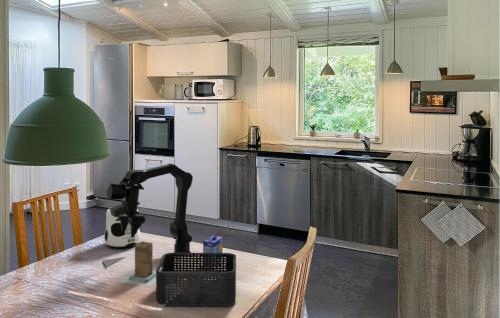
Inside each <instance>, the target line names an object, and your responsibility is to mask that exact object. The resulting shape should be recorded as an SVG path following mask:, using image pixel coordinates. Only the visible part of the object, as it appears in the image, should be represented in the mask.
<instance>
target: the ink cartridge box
mask: <svg viewBox="0 0 500 318" xmlns="http://www.w3.org/2000/svg"><path fill="white" fill-rule="evenodd" d="M202 242H203V243H202V253H223V248H224V247H223V244H224V237H223V236H219V233H216V234H214V235H211V236H210V237H209V238H207V239H205V240H203V241H202ZM204 258H206V257H204ZM208 258H209V257H208ZM211 258H213V257H211ZM214 258H216V257H214ZM218 258H219V257H218ZM221 258H223V257H221ZM204 263H206V262H204ZM208 263H209V262H208ZM211 263H213V262H211ZM214 263H216V262H214ZM218 263H219V262H218ZM215 265H216V264H215ZM211 268H213V267H211Z"/></svg>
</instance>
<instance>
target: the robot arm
mask: <svg viewBox="0 0 500 318" xmlns="http://www.w3.org/2000/svg"><path fill="white" fill-rule="evenodd" d="M168 174H170V175H171V176H173V177H174V180H175V187H176V189H177V194H176V205H175V208H176V209H175V218H174V220H173V222H170V223H169V225H170V227H169V232H170V235H171V236H172V238H173V239H174V241H175V243H174V244H173V245H174V249H173V250H174V251H173V253H192V252H191V250H190V249H191V248H190V247H191V245H190V244H191V242H192V240H193V236H191V235H190V233H189V232H188V224H187V222H186V216H187V207H188V205H187V203H188V195H189V190H190V188H191V187H192V184H193V179H194V177H193V175H192V173H191V172H187V171H185V170H183V169H182V168H180V167H178V166H177V165H176V164H175V163H167V164H164V165H159V166H155V167H151V168H146V169H129V170H128V171H126V173H125V176H124V177H123V178H122V179H121V180H120V182H119V183H113V182H111V183H109V186H108V188H107V189H106V198H107V199H108V200H122V202H121V204H118V205H115V206H113V207H110V208H109V209H110V211H111V215H112V216H114V217H118V218H119V219H120V223H121V228H122V232H125V230H126V228H127V225H128V223H129V224H130V225H131V237H134V236H135V234H136V232H137V231H138V229H139V230H140V227H141V226H142V225H143V224H144V223H146V219H147V218H146V216H144V215H143V214H140V212H139V210H138V211H137V209H138V207H139V206H141V205H140V204H141V203H140V201H139V197H140V196H139V195H140V190H141V191H142V190H143V191H144V190H145V187H143V185H142V184H143V183H145V182H146V181H147V180H149V179H152V178H157V177H161V176H163V175H164V176H165V175H168ZM123 199H124V200H123Z"/></svg>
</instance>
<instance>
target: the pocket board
mask: <svg viewBox="0 0 500 318" xmlns="http://www.w3.org/2000/svg"><path fill="white" fill-rule="evenodd" d="M118 282H120V283H124V284H125V283H126V284H131V285H137V286H142V287H147V288H150V287H152V286H153V285H154V284H156V270H155V271H154V270H153V274H152V275H150V276H149V277H147V278H142V277H136V276H135V270H134V271H133V272H131V273H129V274H128V275H126V276H125V277H123V278H121V279H120V280H118Z"/></svg>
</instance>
